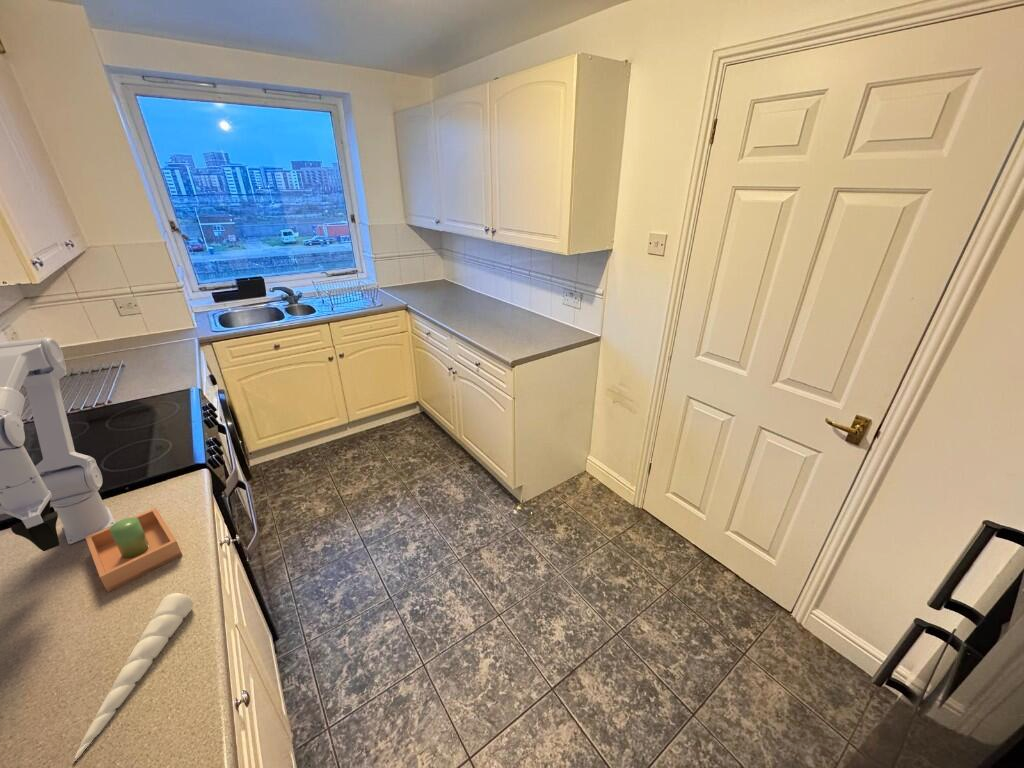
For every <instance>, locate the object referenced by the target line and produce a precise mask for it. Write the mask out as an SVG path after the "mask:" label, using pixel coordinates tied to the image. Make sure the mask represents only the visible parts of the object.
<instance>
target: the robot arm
mask: <svg viewBox="0 0 1024 768" xmlns="http://www.w3.org/2000/svg"><path fill="white" fill-rule="evenodd" d="M67 375H68V373H67V365H66V362H65V358H64V354H63V350H62V349H61V347H60V345H59V343H58V342H57V341H56V340H55V339H54V338H51V337H50V336H44V337H41V338H30V339H24V340H23V339H22V340H13V341H5V342H0V515H3V514H6V515H9V516H11V517H14V518H16V519H19V520H21V521H20V522H18V523H15V524H13V525H10V531H11V532H12V533H13V534H14V535H17V536H20V537H22V538H25V540H28V541H30V542H31V543H32V544H33V545H35V546H36V547H37V548H38V549H39V550H41V551H42V552H47V551H49V550H51V549H54V548H57V547H59V546H60V540H59V536H58V535H59V534H58V532H57V521H58V518H59V520H60V522H61V525H62V528H63V532H64V534H65V538H66V541H67V544H68V545H72V544H75V543H77V542H79V541H82V540H84V539H85V540H86V538H85V537H87V536H89V535H92V534H94V533H96V532H99V531H101V530H104V529H106V528H109V527H111V526H112V525H114V524H115V523H117V522H116V520H115V519H114V516H113V514H112V512H111V510H110V507H109V506H106V505H105V504H104V502H103V499H102V496H101V495H100V493H99V490H100V488H101V487H102V485H103V475H102V472H101V470H100V468H99V466H98V464H97V462H96V459H95V458H94V457H92V456H91V455H86V454H83V453H79V452H77V451H76V450H75V449H76V448H75V446H74V441H73V437H72V434H71V429H70V425H69V420H68V416H67V413H66V409H65V405H64V400H63V397H62V396H63V395H62V392H61V386H60V379H62V378H64V377H65V376H67ZM22 387H24V388H25V390H26V393H27V398H28V402H29V407H30V409H31V414H32V417H33V422H34V425H35V429H36V435H37V438H38V443H39V448H40V452H41V455H42V460H40V462H38V463H37V464H36V465H35V464H34V462H33V460H32V458H31V457H30V454H29V453H28V451H27V449H26V448H25V446H24V443H25V441H26V435H25V430H24V429H25V427H24V426H25V424H24V421H22V419H21V417H22V413H23V411H24V407H25V403H26V397H25V396H24V394H22V393H21V392H20V390H21V389H22ZM74 466H77V467H74ZM70 467H72V468H70ZM66 468H68V469H66ZM61 469H63V470H61ZM57 470H58V471H57ZM51 508H53V510H54V511H53V512H52V510H51Z"/></svg>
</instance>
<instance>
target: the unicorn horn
mask: <svg viewBox="0 0 1024 768" xmlns="http://www.w3.org/2000/svg"><path fill="white" fill-rule="evenodd" d="M193 607H194V601H193V599H192V597H190V596H189V595H187V594H184V593H181V592H173V593H170V594H167V595H165V597H164V598H163V599H162V600H161V601H160V604H159V606H158V607H157V608H156V610H155V612H154V614H153V616H152V617H151V619H150V622H149V623H148V624H147V625H146V627H145V629H144V631H143V633H142V634H141V636H140V638H139V639H138V641H137V644H135V646H134V648H133V650H132V652H131V654H130V655H129V657H128V658H127V659H126V662H125V663H124V665H123V668H122V669H121V670H120V672H119V674H118V675H117V678H116V679H115V681H114V682H113V685H112V686H111V688H110V690H109V693H108V694H107V695H106V696H105V698H104V700H103V702H102V705H101V706H100V708H99V710H98V712H97V713H96V715H95V717H94V718H93V721H92V723H90V726H89V728H88V730H87V731H86V733H85V735H84V737H83V738H82V741H81V744H80V745H79V747H78V750H77V752H76V754H75V756H74V758H76V759H77V758H78V757H79V756H80V755H81V753H82V752H83V751H84V750H85V749H86V748H87V746H89V744H90V743H91V742H92V739H93V738H94V739H95V738H96V737H97V735H98V734H99V735H100V733H101V732H102V731H103V729H104V728H105V727H106V726H107V724H108V723H109V721H111V719H112V718H113V716H115V714H116V712H117V710H116V709H118V708H119V707H121V705H122V704H123V703H124V702H125V700H126V699H127V697H128V696H129V695H130V693H131V692H132V691H133V690H134V688H135V687H136V685H137V684H136V683H137V682H140V680H141V679H142V678H143V676H144V675H145V674H146V673H147V670H148V669H149V668H150V666H151V665H152V663H154V661H153V660H154V659H157V657H158V656H159V654H160V652H161V651H162V650H163V649H164V647H165V646H166V644H167V643H168V642H169V639H170V638H172V636H173V635H174V634H175V632H176V631H177V630H178V628H179V626H180V625H181V624H182V622H183V621H184V619H185V618H186V617H187V615H189V613H190V611H191V610H192V609H193ZM99 735H98V736H99ZM92 743H93V742H92ZM92 743H91V744H92ZM89 747H90V746H89ZM87 749H88V748H87Z"/></svg>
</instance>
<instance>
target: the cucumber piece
mask: <svg viewBox="0 0 1024 768" xmlns="http://www.w3.org/2000/svg"><path fill="white" fill-rule="evenodd" d="M110 532H111V534H112V536H113V538H114V540H115V542H116V545H117V547H118V549H119V551H120V553H121V555H122V557H123V558H126V559H129V558H134V557H137V556H139V555H141V554H143V553H144V552H145V551H146V550H147V549H148V548H149V543H148V541H147V538H146V536H145V534H144V531H143V529H142V527H141V524H140V522H139V520H138V518H136V517H135V516H133V517H127V518H124V519H121V520H119V521H117V522H116V523H115V524H114V525H112V526H111V528H110Z"/></svg>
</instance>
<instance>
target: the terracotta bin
mask: <svg viewBox="0 0 1024 768" xmlns="http://www.w3.org/2000/svg"><path fill="white" fill-rule="evenodd" d="M134 517H136V518H138V520H139V522H140V524H141V527H142V529H143V531H144V534H145V536H146V538H147V541H148V543H149V548H148V549H147V550H146V551H145V552H144V553H143V554H141V555H139V556H137V557H134V558H129V559H126V558H123V557H122V555H121V553H120V551H119V549H118V547H117V545H116V542H115V540H114V538H113V536H112V534H111V532H110V528H111V527H109V528H106V529H104V530H101V531H99V532H96V533H94V534H92V535H89V536H87V537H85V540H86V543H87V546H88V549H89V551H90V554H91V557H92V560H93V562H94V565H95V567H96V571H97V573H98V575H99V578H100V580H101V582H102V584H103V586H104V588H105V589H106V591H107V592H108V593H110V592H112V591H114V590H116V589H118V588H120V587H122V586H124V585H126V584H127V583H130V582H132V581H134V580H136V579H138V578H140V577H142V576H143V575H145V574H148V573H149V572H151V571H154V570H155V569H157V568H160V567H162V566H164V565H166V564H168V563H169V562H173V561H174V560H176V559H177V558H179V557H182V556H183V553H182V551H181V549H180V546H179V543H178V541H177V540H176V537H175V536H174V535H173V534H172V531H171V530H170V528H169V527H168V525H167V524H166V521H165V520H164V518H163V517H162V515H161V514H160V513H159V511H158V509H157V508H156V507H155V508H151V509H150V510H147V511H144V512H143V513H142V512H141V513H139V514H137V515H135V516H134Z"/></svg>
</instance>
